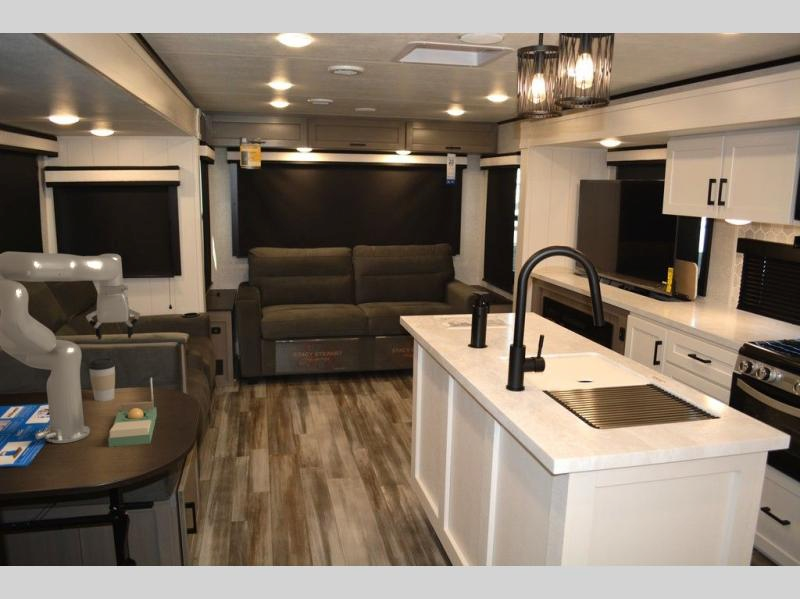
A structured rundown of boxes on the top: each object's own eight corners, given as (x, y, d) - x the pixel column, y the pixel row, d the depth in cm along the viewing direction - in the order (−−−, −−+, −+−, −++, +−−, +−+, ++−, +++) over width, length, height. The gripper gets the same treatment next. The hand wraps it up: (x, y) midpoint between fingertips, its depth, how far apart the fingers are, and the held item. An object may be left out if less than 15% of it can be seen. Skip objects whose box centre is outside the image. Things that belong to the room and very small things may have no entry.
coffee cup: (112, 392, 246) (109, 354, 243) (121, 398, 240) (118, 360, 237) (87, 397, 240) (84, 359, 237) (96, 404, 233) (93, 364, 230)
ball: (147, 421, 218) (146, 407, 217) (134, 426, 213) (133, 411, 213) (137, 419, 220) (136, 405, 219) (124, 423, 216) (123, 409, 215)
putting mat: (150, 443, 202) (147, 401, 199) (108, 447, 199) (105, 404, 196) (157, 414, 225) (154, 376, 223) (120, 416, 222) (117, 378, 219)
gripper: (139, 287, 227) (142, 333, 230) (86, 288, 222) (90, 336, 225) (137, 291, 220) (140, 339, 223) (81, 292, 215) (85, 342, 218)
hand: (115, 337), depth 224 cm, fingers open, 9 cm apart
